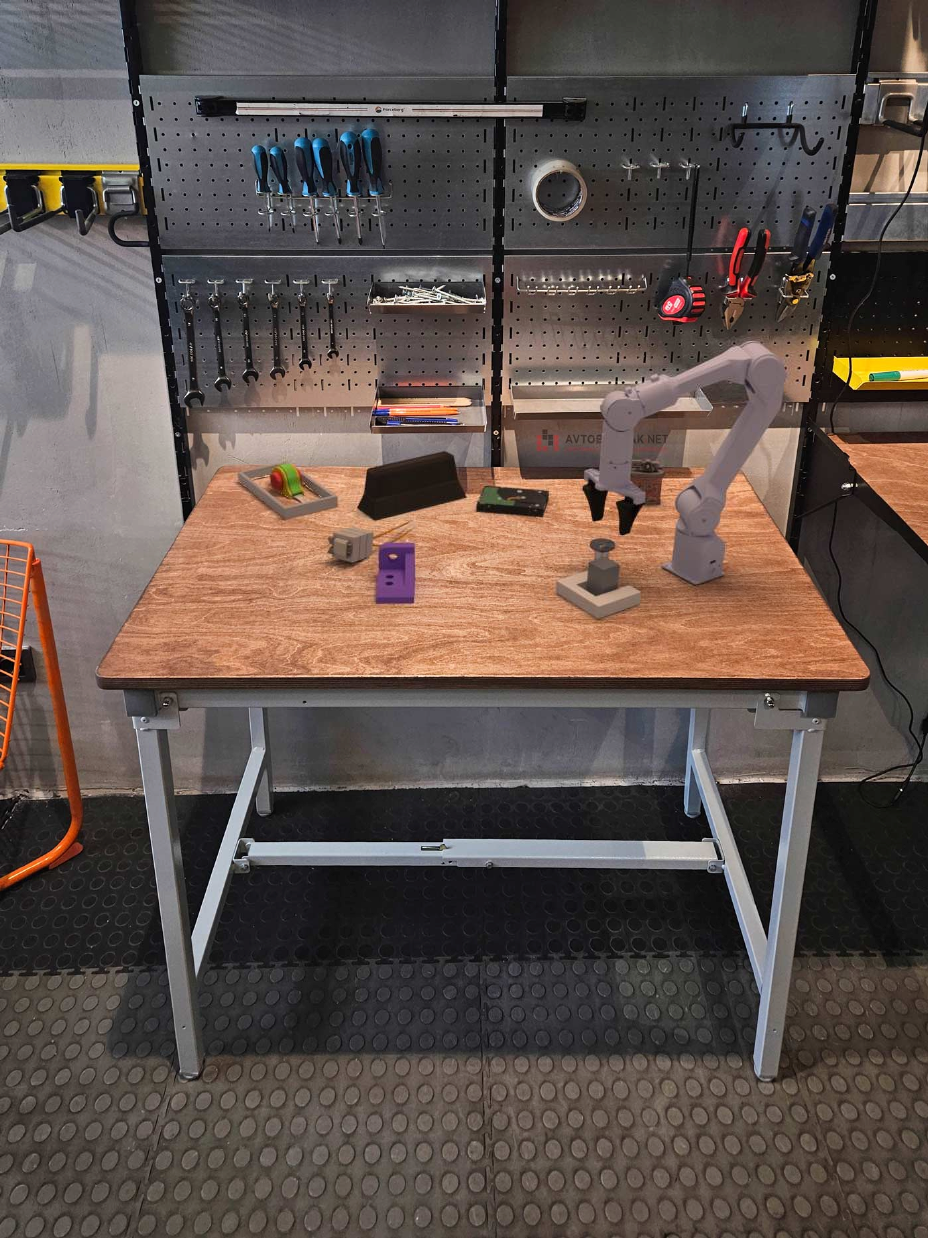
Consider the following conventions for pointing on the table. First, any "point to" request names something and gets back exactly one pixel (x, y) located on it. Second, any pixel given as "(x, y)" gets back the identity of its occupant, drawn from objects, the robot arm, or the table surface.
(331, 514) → the table surface
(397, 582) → the bracket
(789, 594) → the table surface
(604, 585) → the tab block
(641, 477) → the lighter
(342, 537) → the electrical component
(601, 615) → the notched board
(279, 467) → the toy measuring tape
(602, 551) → the bobbin post
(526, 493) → the disk drive
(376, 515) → the barrier
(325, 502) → the rectangular frame
